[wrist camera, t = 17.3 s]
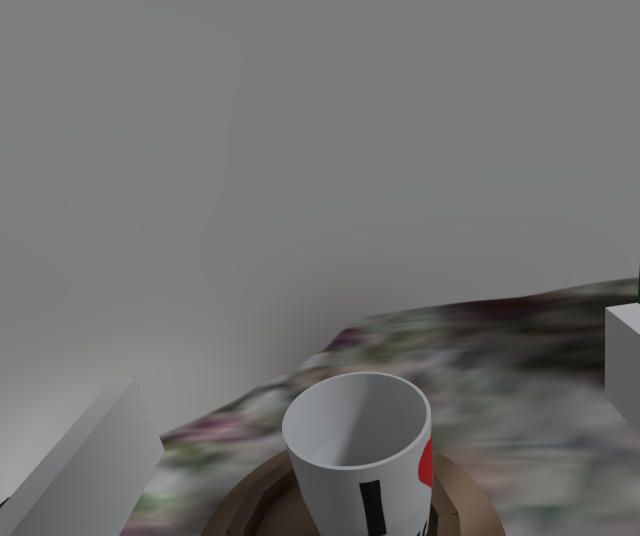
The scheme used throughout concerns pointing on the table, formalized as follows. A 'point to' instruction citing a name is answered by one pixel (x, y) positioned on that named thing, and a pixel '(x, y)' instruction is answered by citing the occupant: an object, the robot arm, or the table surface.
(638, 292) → the hardback book
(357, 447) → the cup
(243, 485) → the round tray
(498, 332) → the table surface
